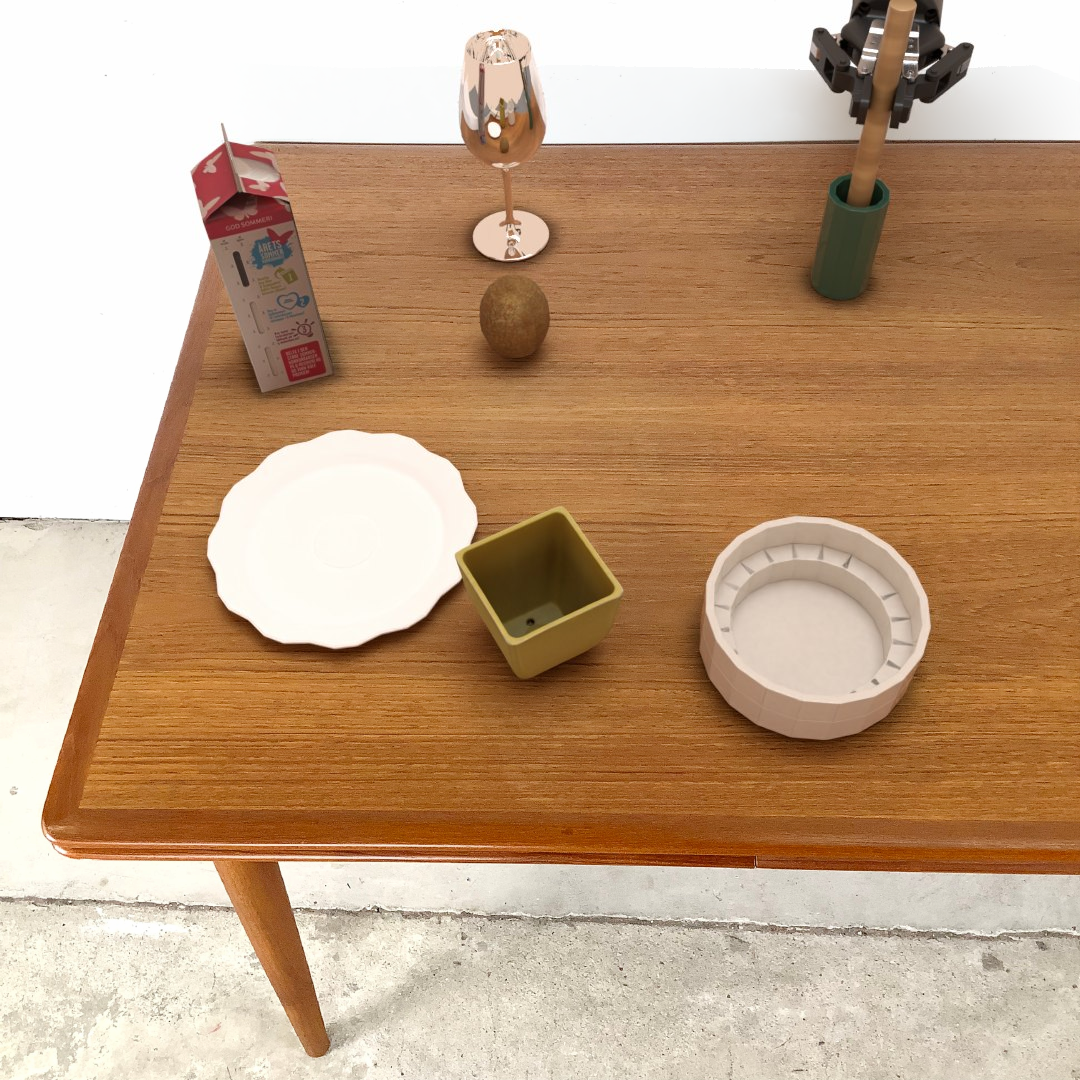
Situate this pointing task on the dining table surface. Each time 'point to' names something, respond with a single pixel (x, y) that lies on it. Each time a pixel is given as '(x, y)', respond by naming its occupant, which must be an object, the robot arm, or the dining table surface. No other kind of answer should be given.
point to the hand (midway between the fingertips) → (879, 116)
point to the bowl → (812, 626)
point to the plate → (341, 538)
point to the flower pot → (541, 591)
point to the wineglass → (503, 132)
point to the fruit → (514, 316)
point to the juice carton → (262, 263)
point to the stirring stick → (881, 100)
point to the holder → (848, 241)
